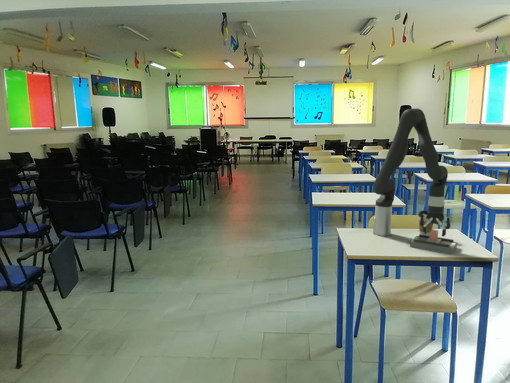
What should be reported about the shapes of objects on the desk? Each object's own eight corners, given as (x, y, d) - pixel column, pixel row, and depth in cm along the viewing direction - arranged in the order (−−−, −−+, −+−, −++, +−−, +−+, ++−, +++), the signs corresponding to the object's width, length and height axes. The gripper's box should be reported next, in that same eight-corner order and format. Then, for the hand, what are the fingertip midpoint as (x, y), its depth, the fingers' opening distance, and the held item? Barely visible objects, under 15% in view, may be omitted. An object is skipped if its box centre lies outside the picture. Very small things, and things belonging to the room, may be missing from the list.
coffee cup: (425, 240, 214) (426, 214, 212) (413, 236, 222) (415, 210, 219) (436, 238, 217) (438, 212, 215) (424, 234, 225) (426, 209, 222)
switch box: (410, 246, 204) (410, 239, 203) (416, 241, 213) (416, 233, 212) (451, 254, 192) (452, 246, 191) (456, 247, 201) (457, 239, 200)
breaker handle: (425, 241, 201) (426, 231, 200) (429, 238, 206) (429, 228, 205) (438, 244, 197) (438, 233, 196) (441, 240, 203) (442, 229, 202)
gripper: (419, 204, 199) (418, 234, 202) (449, 207, 191) (447, 238, 194) (423, 201, 205) (421, 231, 208) (452, 204, 197) (450, 235, 199)
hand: (434, 234), depth 201 cm, fingers open, 8 cm apart
